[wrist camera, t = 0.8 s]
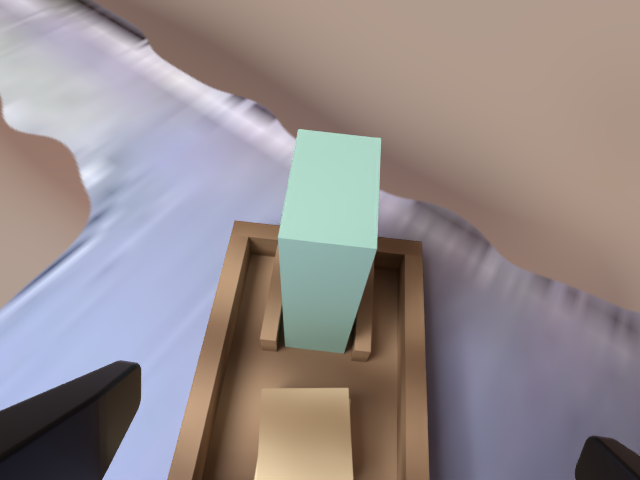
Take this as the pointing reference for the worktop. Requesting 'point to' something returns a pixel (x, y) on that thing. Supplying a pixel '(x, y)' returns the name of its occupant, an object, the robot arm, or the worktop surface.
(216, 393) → the rack
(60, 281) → the worktop surface
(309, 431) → the offcut upper
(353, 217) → the mint green block
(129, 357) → the worktop surface
